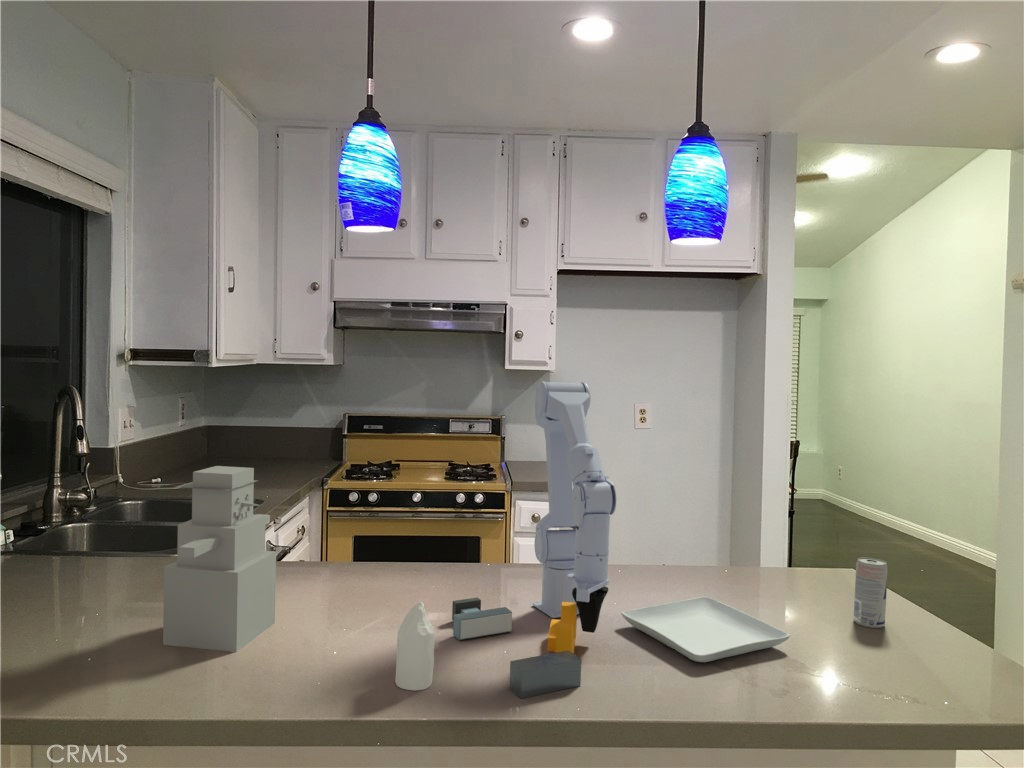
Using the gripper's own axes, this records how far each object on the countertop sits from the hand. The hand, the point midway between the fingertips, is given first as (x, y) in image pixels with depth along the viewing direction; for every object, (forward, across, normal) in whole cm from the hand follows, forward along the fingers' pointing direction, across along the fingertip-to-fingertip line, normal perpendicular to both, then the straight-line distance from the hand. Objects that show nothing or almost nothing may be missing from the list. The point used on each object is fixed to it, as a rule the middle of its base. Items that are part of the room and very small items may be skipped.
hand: (589, 630), depth 123 cm
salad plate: (+3, -10, +18) cm, 21 cm away
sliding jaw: (+2, 0, -20) cm, 20 cm away
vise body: (+2, +18, -3) cm, 19 cm away
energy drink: (+2, -29, +48) cm, 57 cm away
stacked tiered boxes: (+2, +19, -60) cm, 63 cm away
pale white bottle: (+2, +24, -22) cm, 32 cm away
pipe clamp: (+3, +5, -4) cm, 7 cm away
